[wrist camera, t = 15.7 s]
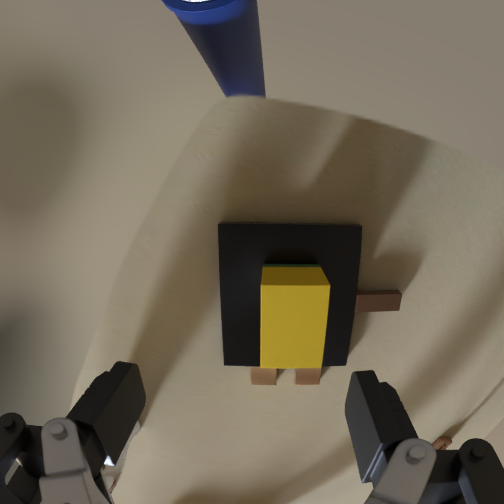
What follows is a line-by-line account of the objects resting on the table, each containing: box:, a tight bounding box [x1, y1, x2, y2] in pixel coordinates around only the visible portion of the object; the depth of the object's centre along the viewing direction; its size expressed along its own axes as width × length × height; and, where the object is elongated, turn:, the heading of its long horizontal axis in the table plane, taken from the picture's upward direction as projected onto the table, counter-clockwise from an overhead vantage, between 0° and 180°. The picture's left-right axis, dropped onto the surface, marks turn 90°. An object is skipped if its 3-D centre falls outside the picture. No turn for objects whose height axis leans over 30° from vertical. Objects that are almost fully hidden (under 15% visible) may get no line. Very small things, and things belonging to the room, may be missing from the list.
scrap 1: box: [251, 367, 277, 385], centre depth 33 cm, size 3×3×1 cm
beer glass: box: [101, 420, 141, 493], centre depth 31 cm, size 7×7×15 cm
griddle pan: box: [218, 222, 402, 367], centre depth 30 cm, size 16×19×2 cm
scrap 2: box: [294, 367, 322, 385], centre depth 33 cm, size 3×3×1 cm
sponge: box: [260, 264, 330, 368], centre depth 27 cm, size 8×6×6 cm
